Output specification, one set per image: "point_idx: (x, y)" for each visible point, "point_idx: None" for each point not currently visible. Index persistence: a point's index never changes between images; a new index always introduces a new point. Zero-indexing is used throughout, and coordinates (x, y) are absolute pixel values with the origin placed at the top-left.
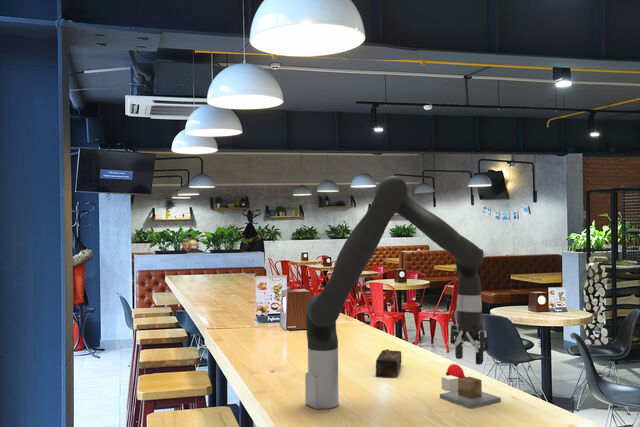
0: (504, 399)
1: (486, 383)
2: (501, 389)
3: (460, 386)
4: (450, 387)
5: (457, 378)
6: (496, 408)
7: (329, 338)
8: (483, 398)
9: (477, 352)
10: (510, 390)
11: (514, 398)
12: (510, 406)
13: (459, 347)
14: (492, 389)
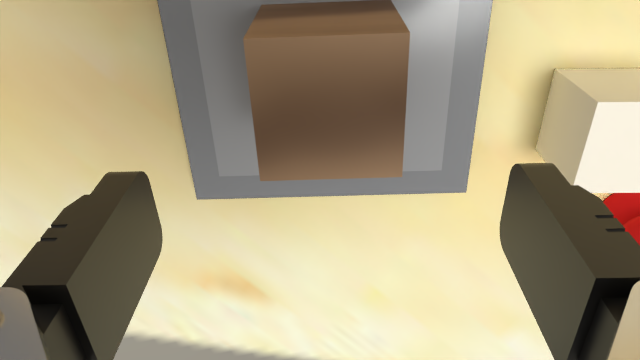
0: (230, 228)
1: (508, 338)
2: (381, 325)
3: (370, 18)
4: (566, 85)
5: (574, 177)
6: (91, 70)
7: None
8: (222, 95)
9: (37, 297)
10: (343, 344)
11: (222, 276)
12: (102, 168)
13: (577, 313)
14: (409, 295)
